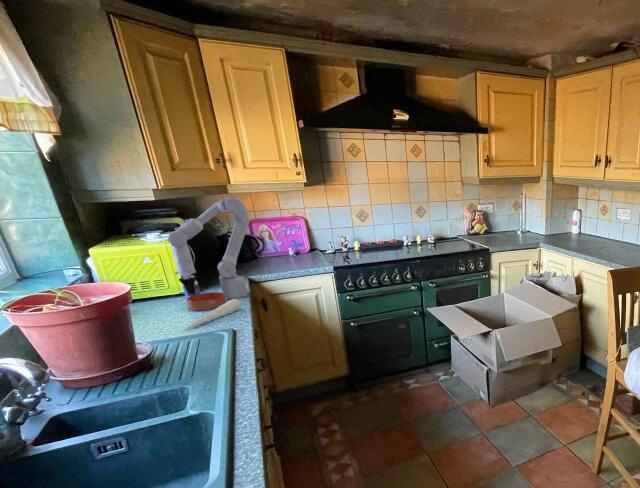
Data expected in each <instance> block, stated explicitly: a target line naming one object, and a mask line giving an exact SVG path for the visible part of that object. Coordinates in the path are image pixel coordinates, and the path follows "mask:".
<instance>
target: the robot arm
mask: <svg viewBox="0 0 640 488" xmlns="http://www.w3.org/2000/svg"><path fill="white" fill-rule="evenodd" d="M228 212H230V213H231V215H232V216H233V218H234V219H235V221H234V224H233V228H232V231H231V235H230V236H229V241H228V243H227V246H226V249H225V253H224V255H223V257H222V259H221V260H220V261H219V262H218V263H217V267H216V268H217V271H218V274H219V276H218V280H219V284H220V287H221V291H222V292H221V293H224V294H225V298H226V300H232V299H238V298H246V297H249V293H248V292H249V290H248V287H247V285H246V281H245V280H246V279H245V277H244V276H245V275H239V274H238V273H237V269H236V266H237V261H238V257H239V254H240V252H241V249H242V244H243V242H244V239H245V236H246V233H247V229H248V226H249V224H250V217H249V214H248V211H247V209H246V206H245V204H244V203H243V202H242V201H241V199H240V198H238V197H236V196H235V195H227V196H225V197H224V198H223V199H222V198H221V199H220V200H218V201H217V202H215V203H213V204H212V205H211V206H210V207H208V208H207V209H206V210H205V211H204V212H203V213H201V214H200V215H199V216H197V217H196V218H189V219H187V218H186V219H185V220H184V223H182V224H181V225H180V226H179V227H174V231H172V232H170V233H169V235H168V237H167V238H168V243H170V247H171V249H172V250H171V252H172V256H173V259H174V263H175V266H176V269H177V270H176V271H174V274H175V275H179V276H180V277H179V278H178V281H179V282H180V283H181V285H182V284H183V285H184V287H185V288H186V290H187V292H188V294H195V281H197V280H196V279H197V275H198V273H197V270H196V268H195V265H194V262H193V258H192V254H191V251H190V248H189V246H188V240H191V239H193V238H194V237H195V236H197V235H198V234H200V232H201V231H203V230H204V225H205V224H206V223H207V222H208V221H210V220H211V219H213V218H214V217H216V216H217V215H218V214H223V213H224V214H225V213H228ZM190 275H193V276H194V277H192V278H191V277H190Z"/></svg>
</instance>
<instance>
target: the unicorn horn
mask: <svg viewBox="0 0 640 488" xmlns="http://www.w3.org/2000/svg"><path fill="white" fill-rule="evenodd" d="M241 309H242V303H241V301H240V300H238V298H231V299H229V300H228V301H226V303H225V304H223V305H221V306H220V307H218V308H216V309H212V310H210V312H208V313H206V314H205V315H203V316H202V317H200V318H198V319H197V320H195V321H194V322H192V323H191V324H189V325H187V327H186V328H185V329H184V330H189V329H192V328H194V327H198V326H201V325H203V324H206V323H209V322H211V321H214V320H217V319H219V318H221V317H224V316H227V315H229V314H232V313H234V312H237V311H240V310H241Z"/></svg>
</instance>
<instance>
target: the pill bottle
mask: <svg viewBox="0 0 640 488" xmlns="http://www.w3.org/2000/svg"><path fill="white" fill-rule="evenodd" d="M190 277H191V278H192V277H194V276H193V275H190ZM181 285H182V288H183V293H184V297H185V300H187V298H189V297H191V296H194V295H198V294H202V293H201V290H200V286H199V282H198V281H197V280H196V281H195V294H188V292H187V290H186V288H185V287H184V285H183V284H182V283H181Z"/></svg>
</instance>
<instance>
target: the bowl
mask: <svg viewBox="0 0 640 488" xmlns="http://www.w3.org/2000/svg"><path fill="white" fill-rule="evenodd" d="M226 302H227V299H226V298H225V294H224V293H223V292H220V291H219V292H217V291H215V292H213V291H212V292H204V293H201V294H198V295H194V296H191V297H189V298H187V299H186V304H187V307H188V309H189V310H190V311H194V312H195V311H196V312H202V311H204V312H205V311H213V310H215V309H216V308H218V307H220V306H221V305H223V304H225V303H226Z"/></svg>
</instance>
